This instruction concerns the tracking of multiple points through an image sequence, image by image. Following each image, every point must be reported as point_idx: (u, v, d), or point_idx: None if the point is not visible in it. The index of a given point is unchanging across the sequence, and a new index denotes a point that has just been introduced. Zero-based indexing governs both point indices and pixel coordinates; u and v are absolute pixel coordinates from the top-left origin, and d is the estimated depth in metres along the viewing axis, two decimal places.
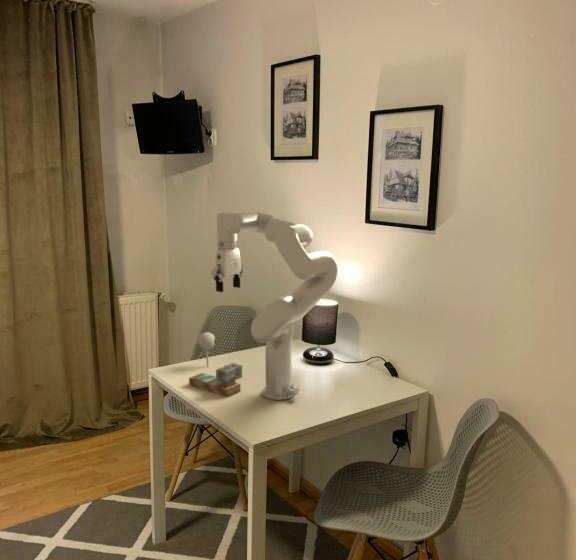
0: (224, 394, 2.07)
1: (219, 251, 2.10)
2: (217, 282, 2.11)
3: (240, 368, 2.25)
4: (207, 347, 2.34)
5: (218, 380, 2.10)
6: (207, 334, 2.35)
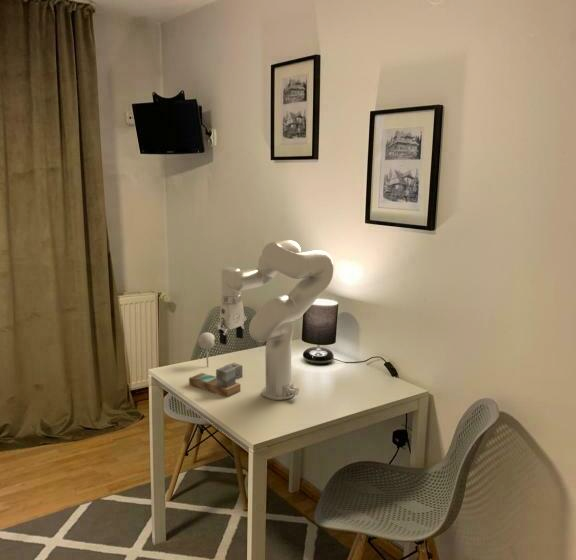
0: (224, 394, 2.07)
1: (223, 305, 2.17)
2: (221, 335, 2.19)
3: (240, 368, 2.25)
4: (207, 347, 2.34)
5: (218, 380, 2.10)
6: (207, 334, 2.35)
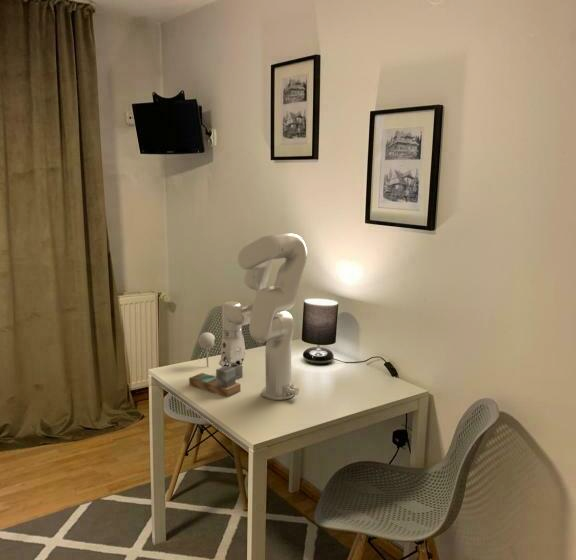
0: (224, 394, 2.07)
1: (224, 340, 2.20)
2: None
3: (240, 368, 2.25)
4: (207, 347, 2.34)
5: (218, 380, 2.10)
6: (207, 334, 2.35)
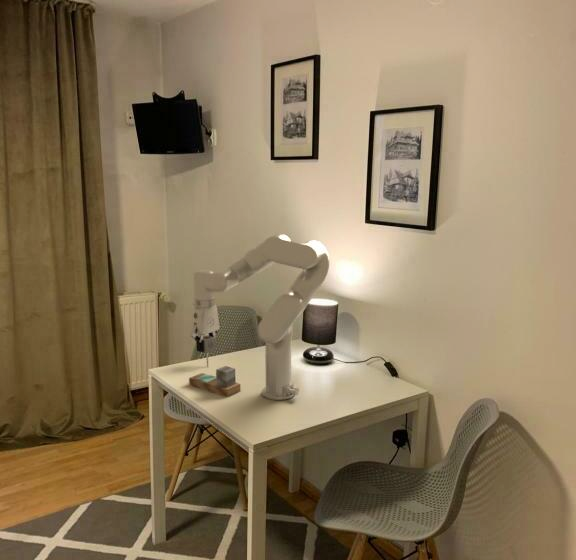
0: (224, 394, 2.07)
1: (196, 310, 2.08)
2: (197, 342, 2.11)
3: (213, 340, 2.13)
4: None
5: (218, 380, 2.10)
6: (207, 334, 2.35)
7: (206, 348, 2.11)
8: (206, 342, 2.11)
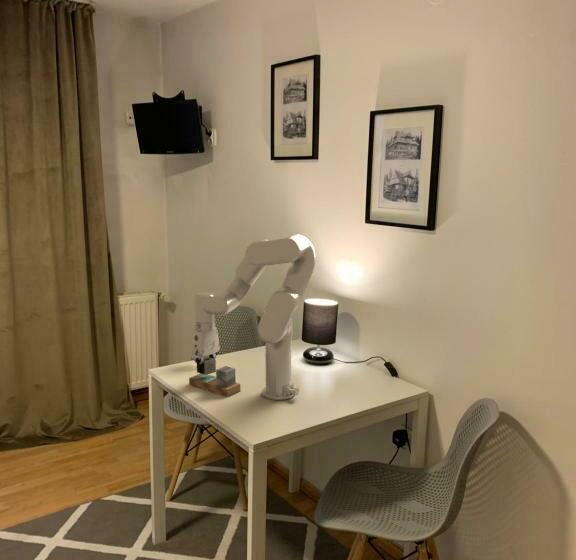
0: (224, 394, 2.07)
1: (196, 332, 2.09)
2: (198, 364, 2.12)
3: (214, 362, 2.15)
4: None
5: (218, 380, 2.10)
6: None
7: (206, 370, 2.13)
8: (206, 364, 2.12)
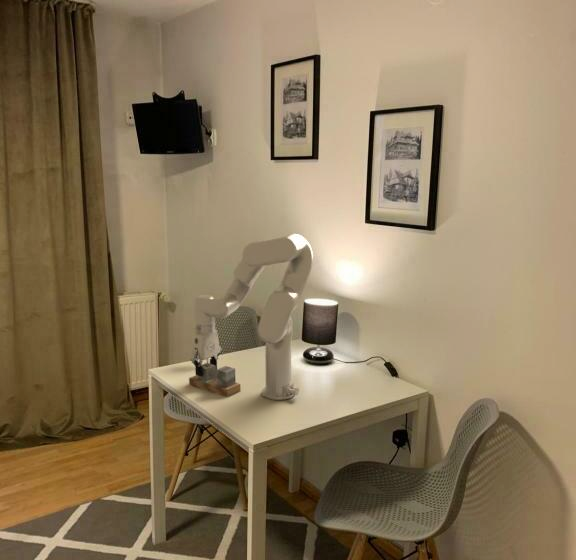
0: (224, 394, 2.07)
1: (196, 335, 2.10)
2: (196, 366, 2.12)
3: (214, 368, 2.15)
4: None
5: (218, 380, 2.10)
6: None
7: (207, 376, 2.13)
8: (207, 370, 2.12)
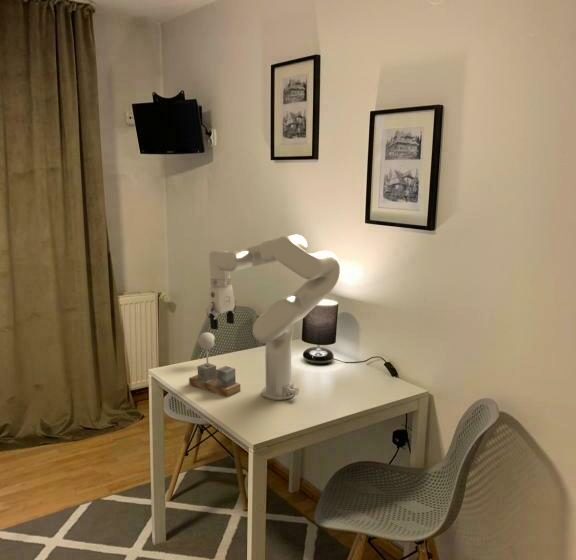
0: (224, 394, 2.07)
1: (213, 289, 2.11)
2: (212, 320, 2.12)
3: (214, 368, 2.15)
4: (207, 347, 2.34)
5: (218, 380, 2.10)
6: (207, 334, 2.35)
7: (207, 376, 2.13)
8: (207, 370, 2.12)
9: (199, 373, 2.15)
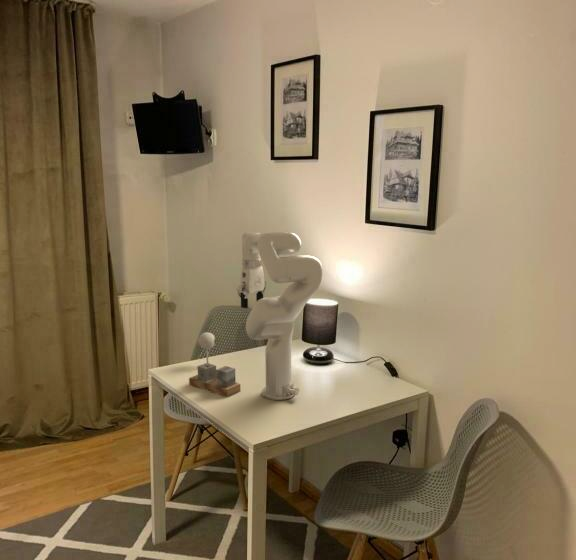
0: (224, 394, 2.07)
1: (244, 269, 2.20)
2: (242, 299, 2.21)
3: (214, 368, 2.15)
4: (207, 347, 2.34)
5: (218, 380, 2.10)
6: (207, 334, 2.35)
7: (207, 376, 2.13)
8: (207, 370, 2.12)
9: (199, 373, 2.15)
